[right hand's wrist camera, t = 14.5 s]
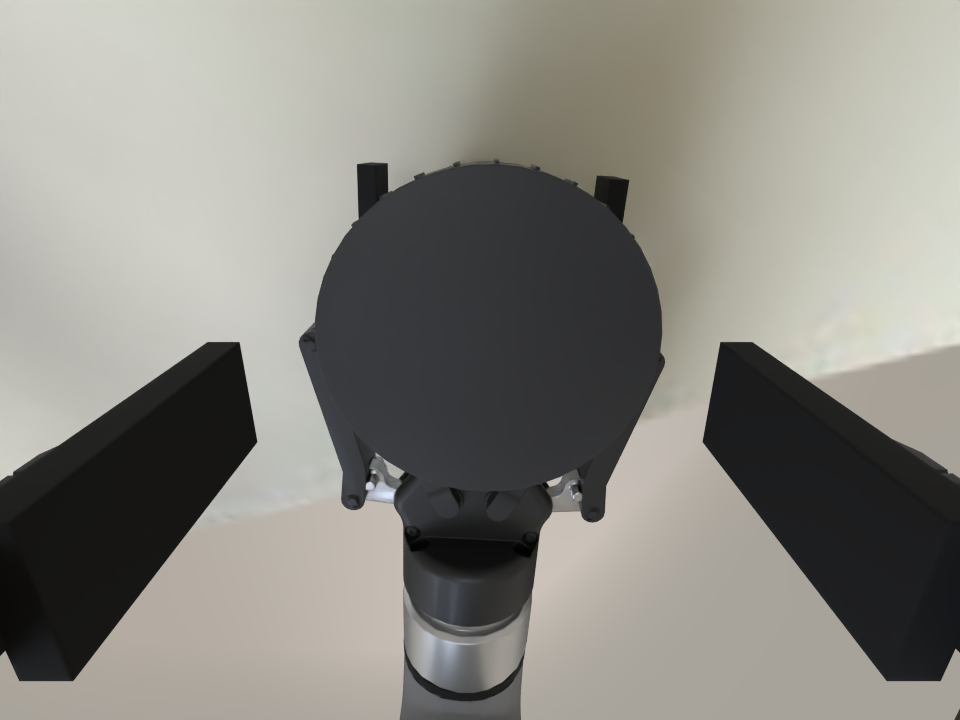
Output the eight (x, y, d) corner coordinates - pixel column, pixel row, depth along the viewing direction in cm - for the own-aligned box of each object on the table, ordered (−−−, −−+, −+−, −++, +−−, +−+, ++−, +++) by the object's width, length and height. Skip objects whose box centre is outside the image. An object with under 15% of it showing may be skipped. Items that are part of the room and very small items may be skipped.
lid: (464, 79, 15) (461, 67, 12) (708, 304, 17) (740, 326, 15) (274, 342, 17) (246, 368, 15) (504, 502, 20) (507, 544, 18)
